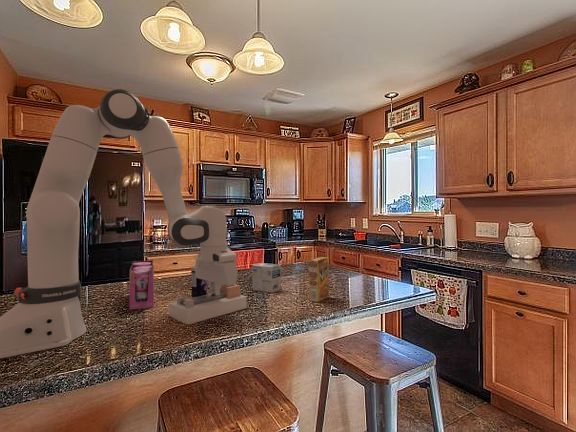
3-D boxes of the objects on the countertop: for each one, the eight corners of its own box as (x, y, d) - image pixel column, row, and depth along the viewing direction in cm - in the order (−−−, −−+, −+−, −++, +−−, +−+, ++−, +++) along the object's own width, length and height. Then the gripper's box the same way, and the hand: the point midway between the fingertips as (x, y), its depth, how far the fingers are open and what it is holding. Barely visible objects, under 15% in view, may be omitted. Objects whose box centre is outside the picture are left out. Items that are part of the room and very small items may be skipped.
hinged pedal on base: (187, 324, 96) (187, 299, 96) (168, 315, 105) (168, 292, 104) (246, 308, 112) (246, 286, 112) (226, 301, 120) (225, 281, 120)
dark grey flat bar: (186, 306, 100) (186, 303, 100) (180, 304, 103) (180, 300, 103) (231, 295, 112) (230, 292, 112) (224, 293, 115) (224, 290, 115)
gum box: (154, 308, 113) (153, 269, 112) (128, 311, 110) (128, 271, 109) (154, 292, 135) (153, 259, 135) (133, 294, 132) (132, 261, 131)
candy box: (318, 302, 118) (318, 260, 118) (308, 300, 120) (308, 259, 120) (329, 297, 125) (329, 257, 125) (319, 295, 128) (319, 256, 127)
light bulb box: (281, 289, 137) (281, 264, 137) (272, 293, 132) (272, 266, 132) (261, 286, 143) (261, 262, 143) (251, 290, 138) (251, 264, 137)
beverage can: (202, 300, 123) (202, 268, 122) (188, 299, 124) (188, 267, 123) (209, 296, 128) (208, 265, 128) (195, 295, 129) (195, 265, 129)
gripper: (189, 252, 115) (191, 291, 115) (223, 257, 100) (224, 302, 101) (205, 250, 119) (206, 288, 119) (240, 255, 105) (241, 298, 105)
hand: (215, 294), depth 110 cm, fingers closed, pressing on dark grey flat bar
